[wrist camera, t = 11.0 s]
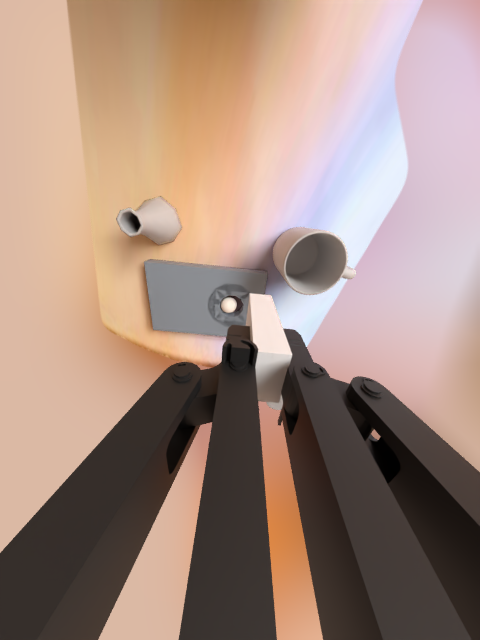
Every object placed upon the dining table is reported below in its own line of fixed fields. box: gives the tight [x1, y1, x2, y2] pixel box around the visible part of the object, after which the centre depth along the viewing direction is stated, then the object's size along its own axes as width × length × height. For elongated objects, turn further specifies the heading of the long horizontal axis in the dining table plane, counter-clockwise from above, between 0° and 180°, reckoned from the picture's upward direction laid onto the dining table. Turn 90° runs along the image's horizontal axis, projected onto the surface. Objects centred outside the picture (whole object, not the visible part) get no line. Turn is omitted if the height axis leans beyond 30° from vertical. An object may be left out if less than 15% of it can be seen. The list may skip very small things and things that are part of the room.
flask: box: [116, 196, 182, 245], centre depth 29 cm, size 7×7×10 cm
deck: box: [144, 259, 268, 337], centre depth 38 cm, size 14×22×2 cm, turn 85°
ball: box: [221, 297, 237, 313], centre depth 38 cm, size 3×3×3 cm
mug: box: [273, 227, 356, 295], centre depth 30 cm, size 12×8×11 cm
